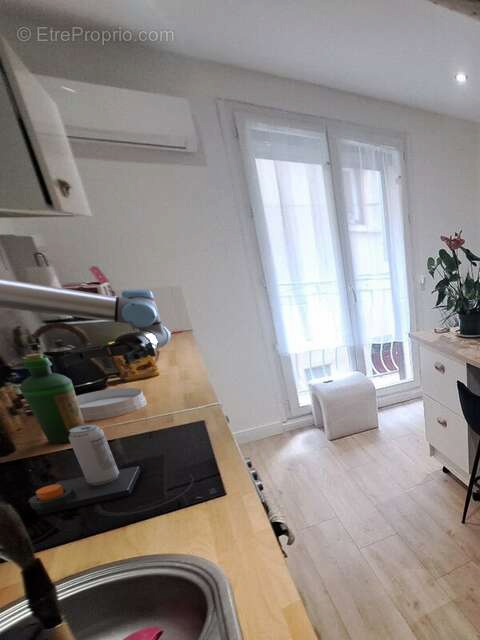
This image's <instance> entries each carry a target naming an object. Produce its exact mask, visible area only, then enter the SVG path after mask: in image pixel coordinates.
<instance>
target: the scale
mask: <svg viewBox="0 0 480 640" xmlns="http://www.w3.org/2000/svg"><path fill="white" fill-rule="evenodd" d="M118 471H119V474H118V475H117V478H116V479H115V480H113V481H111V482H109V483H105V484H101V485H92V484H91V483H88V482H87V481H86V478H85V476H82V477H81V476H80V477H76V478H71V479H66V480H60V481H56V482H55V484H59V485H61V486H62V489H63V491H64V494H62V495H60V496H58V497H55V498H52V499H48V500H39V498H38V496H37V494H35V495H34V496H31V497H30V499H29V500H28V504H29V505H30V507H31V508H32V509H33V510H34V511H35V512H36V515H37V516H43V515H47V514H51V513H52V514H53V513H56V512H61V511H65V510H69V509H75V508H78V507H83V506H88V505H93V504H97V503H100V502H106V501H109V500H115V499H119V498H123V497H128V496H131V493H132V491H133V489H134V487H135V485H136V483H137V480H138V478H139V476H140V474H141V472H142V471H141V468H140V466H139V465H137V466H132V467H127V468H122V469H118Z"/></svg>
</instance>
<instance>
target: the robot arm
mask: <svg viewBox="0 0 480 640" xmlns="http://www.w3.org/2000/svg"><path fill="white" fill-rule="evenodd" d="M0 308H2V309H10V310H17V311H26V312H35V313H43V314H50V315H51V314H52V315H59V316H67V317H73V318H74V317H75V318H82V319H90V320H98V321H106V322H107V321H108V322H113V323H120V324H128V325H130V326H131V328H132V331H130V332H127V333H125V334H121V335H119V336H117V337H116V338H115V340H114V342H112V343H109V344H96V345H93V346H87V347H82V348H78V349H72V350H65V351H63V354H64V355H62V356H60V357H58V361H59V363H60V366H61V368H62V369H63V368H69V367H71V366H73V365H76V364H77V365H78V364H80V363H81V362H82V361H84V360H90V359H96V358H100V357H101V358H102V357H106V358H111V357H120V356H121V357H122V356H123V358H124V361H125V364H126V365H131V364H133V363H135V362H138V361H139V360H141V359H143V358H145V359H146V358H148V357H149V356H150V357H151V358H154V357H157V353H156V350H157V349H160V348H163V347H164V346H166V345H168V343H169V342H170V341H171V338H172V334H171V332H170V330H169V329H168V328H167V327H166V326H164V325H163V323H162V320H161V317H160V314H159V310H158V306H157V303H156V299H155V297H154V295H153V292H152V291H151V290H149V289H128V290H127V289H126V290H123V291H122V292H121V296H120V297H119V296H113V295H107V294H101V293H94V292H88V291H82V290H75V289H70V288H62V287H57V286H51V285H50V286H49V285H45V284H37V283H31V282H25V281H19V280H12V279H7V278H6V279H5V278H0Z"/></svg>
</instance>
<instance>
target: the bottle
mask: <svg viewBox="0 0 480 640" xmlns="http://www.w3.org/2000/svg"><path fill="white" fill-rule="evenodd" d="M25 357H26V358H25V359H24V360H23V365H24V366H23V367H24V369H27V370H28V371H29V374H30V376H28V377H27V378H25V379H24V380H23V381H22V382H21V384H20V385H19V388H18V389H19V391H20V392H21V395H22V396H23V398H24V400H25V401H26V403H27V405H28V407H29V409H30V410H31V412H32V414H33V416H34V418H35V420H36V422H37V423H38V426H39V427H40V429H41V431H42V432H43V434H44V436H45V438H46V439H47V441H48V443H50V444H54V445H55V444H56V445H57V444H59V445H60V444H67V443H70V440H69V435H70V430H71V429H73V428H75V427H78V426H82V425H86V423H85V421H84V420H83V417H82V414H81V410H80V407H79V404H78V401H77V397H76V396H77V394H76V390H75V388H74V384H73V381H72V379H71V378H69V377H67V376H66V375H64V374H60V373H55V372H53V371H52V369H51V366H52V365H53V363H52V362H51V361H50V360H49V358H48V357H46V356H43V353H30V354H26V355H25Z"/></svg>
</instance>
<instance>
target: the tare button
mask: <svg viewBox="0 0 480 640" xmlns="http://www.w3.org/2000/svg"><path fill="white" fill-rule="evenodd" d="M62 494H64V491H63V489H62V486H61V485H59V484H56V483H55V484H50V485H46V486H44V487H40V488H39V489H37V490H36V491H35V495H37V496H38V498H39V500H48V499H52V498H55V497H58V496H60V495H62Z"/></svg>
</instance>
